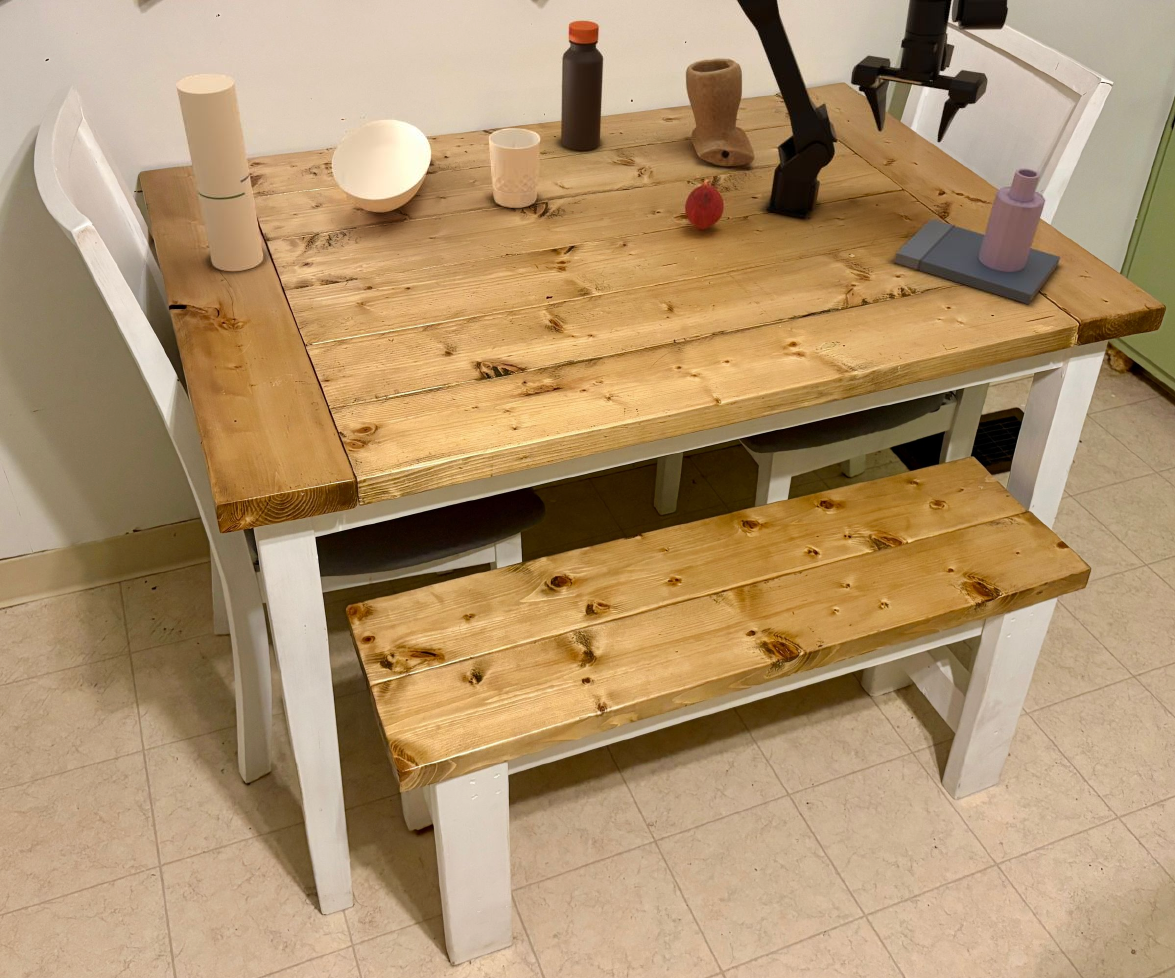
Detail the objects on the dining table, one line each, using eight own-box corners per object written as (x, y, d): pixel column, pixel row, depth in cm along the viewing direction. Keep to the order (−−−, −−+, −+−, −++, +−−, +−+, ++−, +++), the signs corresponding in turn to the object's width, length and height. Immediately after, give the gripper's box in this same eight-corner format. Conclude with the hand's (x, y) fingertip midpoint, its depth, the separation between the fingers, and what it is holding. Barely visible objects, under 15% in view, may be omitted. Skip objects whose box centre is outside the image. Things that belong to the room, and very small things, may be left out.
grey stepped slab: (894, 262, 166) (896, 252, 165) (928, 228, 175) (931, 218, 174) (1028, 304, 157) (1031, 294, 156) (1057, 266, 167) (1060, 255, 166)
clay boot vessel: (677, 133, 201) (684, 48, 191) (743, 135, 201) (754, 50, 191) (683, 169, 189) (692, 79, 179) (754, 170, 189) (766, 81, 180)
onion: (718, 240, 169) (724, 190, 164) (680, 235, 170) (685, 186, 165) (722, 223, 174) (728, 174, 169) (685, 219, 175) (690, 170, 169)
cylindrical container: (272, 252, 162) (245, 78, 146) (245, 275, 157) (213, 96, 141) (229, 243, 164) (197, 70, 148) (201, 265, 158) (164, 88, 142)
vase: (985, 271, 161) (1010, 182, 153) (973, 249, 166) (997, 162, 158) (1030, 272, 161) (1058, 184, 153) (1017, 251, 166) (1044, 164, 158)
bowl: (428, 237, 167) (426, 199, 163) (326, 237, 166) (321, 199, 162) (436, 155, 190) (434, 119, 186) (346, 154, 189) (342, 119, 185)
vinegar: (586, 154, 192) (589, 34, 179) (553, 145, 195) (554, 26, 182) (607, 142, 197) (612, 24, 184) (575, 132, 199) (577, 15, 187)
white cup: (481, 204, 176) (479, 142, 170) (503, 184, 182) (502, 124, 176) (527, 214, 174) (527, 151, 168) (548, 194, 180) (548, 133, 173)
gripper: (1008, 22, 162) (987, 128, 172) (883, 5, 170) (870, 107, 180) (984, 45, 154) (964, 154, 164) (855, 26, 162) (843, 132, 172)
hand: (909, 135), depth 170 cm, fingers open, 9 cm apart
